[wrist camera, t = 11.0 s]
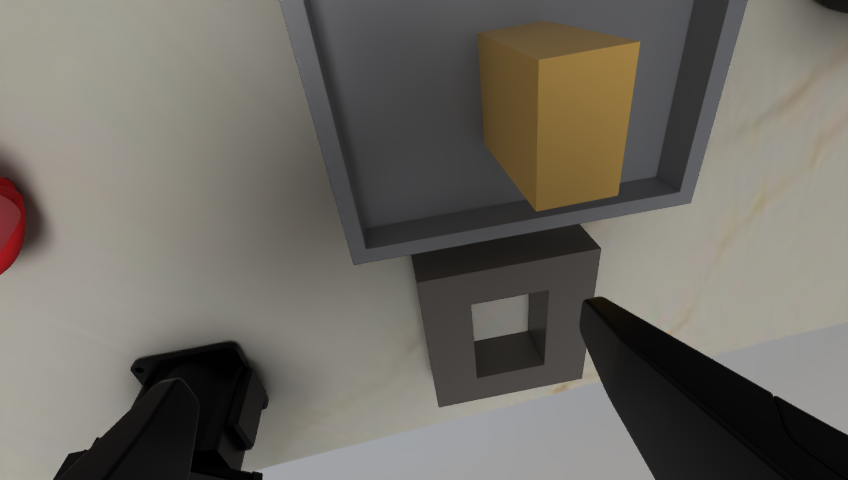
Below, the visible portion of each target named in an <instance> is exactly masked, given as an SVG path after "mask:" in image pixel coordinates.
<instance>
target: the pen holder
mask: <svg viewBox="0 0 848 480" xmlns="http://www.w3.org/2000/svg"><path fill="white" fill-rule="evenodd" d="M819 1H820V2H821V3H822V4H824V5H825V6H827V7H828V8H830V9H834V10H837V11H840V12H844V13H848V0H819Z"/></svg>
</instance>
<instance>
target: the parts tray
mask: <svg viewBox="0 0 848 480" xmlns="http://www.w3.org/2000/svg"><path fill="white" fill-rule="evenodd" d="M279 1H280V5H281V8H282V12H283V15H284V19H285V23H286V26H287V30H288V33H289V37H290V40H291V44H292V47H293V51H294V55H295V58H296V62H297V65H298V69H299V72H300V76H301V79H302V83H303V87H304V90H305V94H306V97H307V101H308V104H309V108H310V111H311V115H312V119H313V122H314V126H315V129H316V133H317V136H318V140H319V143H320V147H321V151H322V154H323V158H324V161H325V165H326V168H327V172H328V175H329V179H330V183H331V186H332V190H333V193H334V197H335V200H336V204H337V207H338V211H339V215H340V218H341V222H342V225H343V229H344V232H345V236H346V240H347V243H348V247H349V250H350V254H351V257H352V261H353V264H354V265H357V264H363V263H368V262H373V261H379V260H384V259H390V258H395V257H401V256H406V255H411V254H417V253H422V252H428V251H433V250H439V249H444V248H450V247H455V246H460V245H466V244H471V243H477V242H482V241H488V240H493V239H498V238H504V237H509V236H515V235H520V234H526V233H531V232H536V231H542V230H547V229H553V228H558V227H564V226H569V225H575V224H580V223H585V222H591V221H596V220H602V219H607V218H613V217H618V216H623V215H629V214H634V213H640V212H645V211H651V210H656V209H661V208H667V207H672V206H678V205H683V204H689V203H691V201H692V197H693V194H694V190H695V186H696V183H697V179H698V176H699V172H700V169H701V165H702V161H703V158H704V154H705V151H706V147H707V144H708V140H709V136H710V133H711V129H712V126H713V122H714V119H715V115H716V111H717V108H718V104H719V101H720V97H721V94H722V90H723V87H724V83H725V79H726V76H727V72H728V69H729V65H730V62H731V58H732V54H733V51H734V47H735V44H736V40H737V37H738V33H739V29H740V26H741V22H742V19H743V15H744V12H745V8H746V4H747V1H748V0H279ZM540 21H549V22H554V23H559V24H563V25H568V26H572V27H577V28H581V29H586V30H590V31H595V32H599V33H604V34H608V35H613V36H618V37H622V38H627V39H631V40H636V41H640V48H639V55H638V61H637V68H636V75H635V82H634V89H633V96H632V103H631V110H630V116H629V123H628V130H627V137H626V144H625V151H624V158H623V165H622V171H621V178H620V185H619V192H618V196H613V197H608V198H603V199H598V200H593V201H588V202H583V203H577V204H572V205H567V206H562V207H557V208H552V209H547V210H542V211H537V212H536V211H535V210H534V208H533V207H532V206H531V204H530V203H529V202H528V200H527V199H526V198H525V197H524V195H523V194H522V193H521V191H520V190H519V189H518V187H517V186H516V185H515V184H514V182H513V181H512V180H511V178H510V177H509V176H508V174H507V173H506V172H505V171H504V169H503V168H502V167H501V165H500V164H499V163H498V161H497V160H496V159H495V158H494V156H493V155H492V154H491V152H490V151H489V150H488V148H487V147H486V146H485V144H484V134H483V118H482V101H481V84H480V68H479V51H478V34H477V33H479V32H484V31H490V30H495V29H501V28H507V27H512V26H518V25H523V24H529V23H535V22H540Z"/></svg>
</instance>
